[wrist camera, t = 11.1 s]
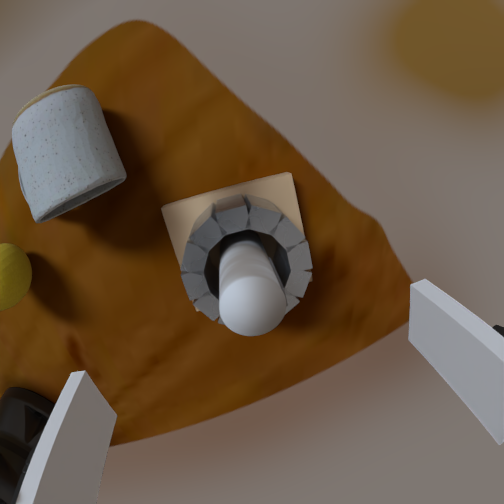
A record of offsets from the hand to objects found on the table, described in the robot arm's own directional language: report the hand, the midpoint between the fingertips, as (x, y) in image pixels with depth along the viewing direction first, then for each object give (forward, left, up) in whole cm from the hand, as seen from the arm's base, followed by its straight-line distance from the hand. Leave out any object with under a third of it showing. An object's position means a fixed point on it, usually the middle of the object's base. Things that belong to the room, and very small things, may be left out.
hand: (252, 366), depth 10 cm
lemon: (-21, +4, -15) cm, 26 cm away
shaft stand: (0, 0, -15) cm, 15 cm away
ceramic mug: (-11, +11, -15) cm, 22 cm away
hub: (+1, 0, -14) cm, 14 cm away
